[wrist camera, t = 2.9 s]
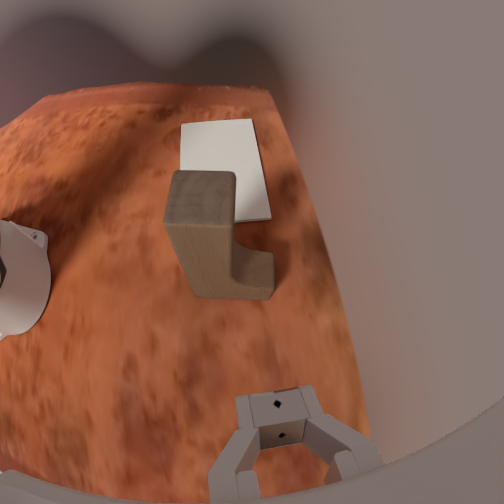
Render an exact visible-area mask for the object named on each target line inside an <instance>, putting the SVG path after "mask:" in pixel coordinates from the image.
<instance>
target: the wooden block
mask: <svg viewBox="0 0 504 504" xmlns="http://www.w3.org/2000/svg"><path fill="white" fill-rule="evenodd" d="M236 178H237V177H236V175H235V173H234V172H231V171H205V170H177V171H175V172H174V173H173V176H172V180H171V185H170V190H169V195H168V200H167V205H166V210H165V215H164V221H163V222H164V226H165V228H166V230H167V233H168V235H169V238H170V240H171V243H172V245H173V247H174V250H175V252H176V255H177V257H178V259H179V262H180V264H181V266H182V268H183V271H184V273H185V275H186V278H187V280H188V282H189V284H190V287H191V289H192V291H193V293H194V295H195V296H196V297H202V298H222V299H246V300H269V299H270V297H271V295H272V293H273V291H274V289H275V258H274V254H273V253H272V252H265V251H256V250H249V249H247V248H245V247H243V246H241V245H239V244H237V242H236V240H235V238H234V229H235V202H236Z"/></svg>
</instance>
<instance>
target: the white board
mask: <svg viewBox="0 0 504 504" xmlns="http://www.w3.org/2000/svg"><path fill="white" fill-rule="evenodd" d="M180 170H205V171H231V172H234V173H235V175H236V177H237V178H236V202H235V223H238V222H249V221H262V220H271V218H272V217H271V212H270V207H269V201H268V196H267V191H266V186H265V181H264V176H263V171H262V166H261V161H260V157H259V152H258V147H257V142H256V137H255V133H254V128H253V123H252V119H238V120H220V121H207V122H196V123H186V124H181V150H180Z"/></svg>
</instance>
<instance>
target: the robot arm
mask: <svg viewBox="0 0 504 504" xmlns="http://www.w3.org/2000/svg"><path fill="white" fill-rule="evenodd" d="M47 246H48V236H47V235H46V234H45V233H44V232H42V231H38V230H35V229H31V228H28V227H24V226H21V225H17V224H15V223H14V222H12V221H9V222H7V221H4V220H0V341H1V340H2V339H4V338H5V337H6V336H8V335H17V334H21V333H24V332H26V331H27V330H29V329H30V328H31V327H32V326H33V325H34V324H35V323H36V322H37V321H38V319H39V318H40V316H41V314H42V312H43V310H44V308H45V306H46V303H47V300H48V296H49V292H50V285H51V271H50V265H49V261H48V257H47ZM235 404H236V411H237V418H238V425H239V430H235V432H234V433H233V435H232V437H231V438H230V440H229V441H228V443H227V445H226V446H225V448H224V449H223V451H222V452H221V454H220V456H219V457H218V459H217V460H216V462H215V463H214V465H213V466H212V468H211V469H210V471H209V472H208V480H209V494H210V503H160V502H146V501H136V500H128V499H120V498H114V497H108V496H102V495H97V494H92V493H87V492H83V491H78V490H74V489H70V488H66V487H63V486H59V485H56V484H52V483H49V482H46V481H43V480H40V479H37V478H34V477H31V476H28V475H26V474H23V473H21V472H18V471H15V470H8V471H6V472H4V473H2V474H0V504H504V396H503V397H502V398H501V399H500V400H498V401H497V402H496V403H495V404H493V405H492V406H490V407H489V408H488V409H486V410H485V411H484V412H482V413H481V414H479V415H478V416H476V417H475V418H473V419H472V420H470V421H469V422H467V423H465V424H464V425H462V426H461V427H459V428H457V429H456V430H454V431H453V432H451V433H449V434H447V435H446V436H444V437H442V438H440V439H439V440H437V441H435V442H433V443H431V444H429V445H427V446H425V447H424V448H422V449H419V450H417V451H416V452H413V453H411V454H409V455H407V456H405V457H403V458H401V459H398V460H396V461H394V462H391V463H389V464H386V465H385V464H384V462H383V460H382V458H381V456H380V454H379V452H378V450H377V448H376V446H375V444H374V442H373V440H371V439H369V438H367V437H366V436H364V435H362V434H360V433H359V432H357V431H355V430H354V429H352V428H350V427H349V426H347V425H345V424H344V423H342V422H340V421H339V420H337V419H335V418H334V417H332V416H330V415H329V414H325V415H324V413H323V410H322V408H321V406H320V403H319V401H318V399H317V396H316V394H315V391H314V389H313V387H312V386H311V385H306V386H300V387H294V388H289V389H283V390H278V391H273V392H267V393H259V394H250V395H241V396H235ZM298 443H302V444H304V445H305V446H306V447H307V448H308V449H310V450H311V451H312V452H313V453H314V454H316V455H317V456H318V457H319V458H321V459H322V460H323V461H324V462H326V463H327V464H328V465H329V466H330V467H329V469H328V472H327V474H326V476H325V478H324V482H325V485H324V486H321V487H317V488H313V489H309V490H304V491H300V492H295V493H290V494H285V495H279V496H274V497H267V498H261V494H260V489H259V485H258V480H257V475H256V472H254V471H252V468H253V466H254V464H255V462H256V459H257V457H258V455H259V453H260V450H264V449H270V448H275V447H280V446H286V445H292V444H298Z"/></svg>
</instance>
